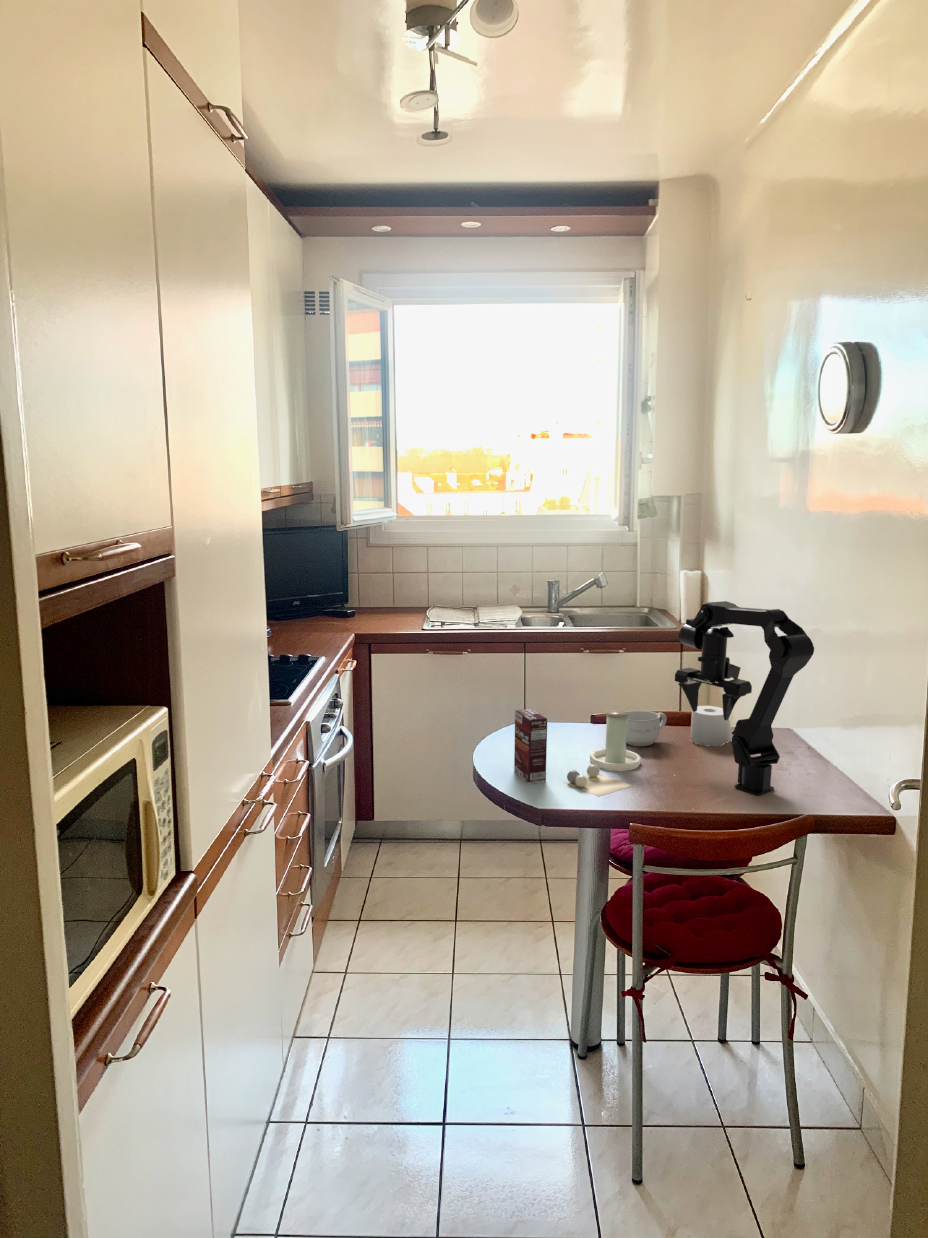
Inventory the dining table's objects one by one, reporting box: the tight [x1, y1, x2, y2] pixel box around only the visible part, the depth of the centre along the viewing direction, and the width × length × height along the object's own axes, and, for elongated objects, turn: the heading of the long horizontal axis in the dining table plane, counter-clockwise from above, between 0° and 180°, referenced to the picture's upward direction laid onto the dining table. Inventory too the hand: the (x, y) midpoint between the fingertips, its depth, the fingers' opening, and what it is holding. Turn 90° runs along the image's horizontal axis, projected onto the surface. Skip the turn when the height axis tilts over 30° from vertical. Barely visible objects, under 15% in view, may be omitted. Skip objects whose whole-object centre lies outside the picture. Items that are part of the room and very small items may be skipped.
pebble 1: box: [566, 769, 581, 783], centre depth 204 cm, size 3×3×3 cm
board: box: [563, 773, 632, 798], centre depth 203 cm, size 11×11×1 cm
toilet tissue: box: [690, 705, 733, 747], centre depth 238 cm, size 9×13×9 cm
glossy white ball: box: [586, 764, 601, 777], centre depth 208 cm, size 3×3×3 cm
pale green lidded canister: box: [605, 709, 628, 763], centre depth 217 cm, size 5×5×12 cm
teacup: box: [626, 710, 667, 747], centre depth 235 cm, size 14×11×8 cm
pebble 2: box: [575, 774, 587, 788], centre depth 201 cm, size 3×3×3 cm
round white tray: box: [589, 748, 642, 772], centre depth 218 cm, size 12×12×2 cm
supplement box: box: [513, 708, 548, 785], centre depth 206 cm, size 9×5×16 cm, turn 21°
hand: (710, 715), depth 215 cm, fingers open, 9 cm apart
